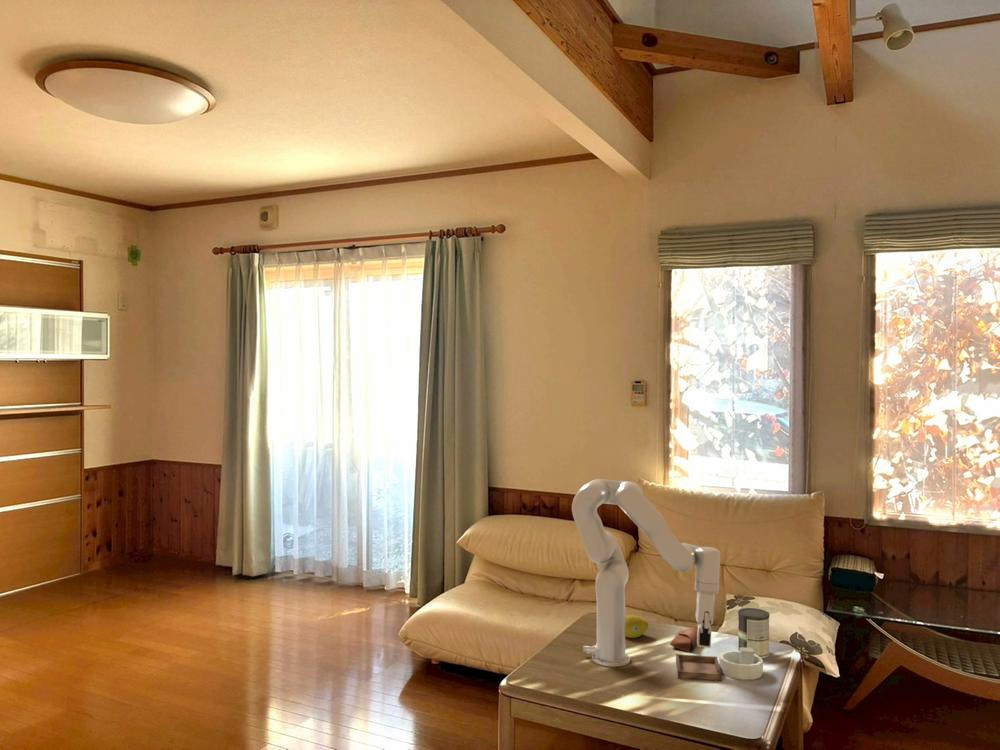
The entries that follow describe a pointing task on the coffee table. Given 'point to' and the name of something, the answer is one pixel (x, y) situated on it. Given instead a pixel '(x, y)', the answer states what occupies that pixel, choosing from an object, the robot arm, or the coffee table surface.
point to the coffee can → (754, 630)
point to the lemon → (635, 626)
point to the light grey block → (746, 656)
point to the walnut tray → (698, 667)
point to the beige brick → (699, 637)
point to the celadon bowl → (740, 666)
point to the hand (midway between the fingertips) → (703, 642)
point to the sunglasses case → (685, 639)
